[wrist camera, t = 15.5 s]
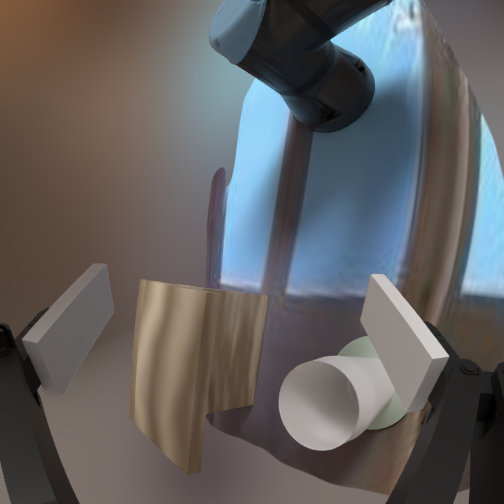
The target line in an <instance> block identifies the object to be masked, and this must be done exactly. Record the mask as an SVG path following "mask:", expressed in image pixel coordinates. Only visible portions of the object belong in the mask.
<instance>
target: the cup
mask: <svg viewBox="0 0 504 504" xmlns="http://www.w3.org/2000/svg"><path fill="white" fill-rule="evenodd" d="M394 391H395V389H394V387H393V384H392V382H391V380H390V378H389V376H388V374H387V372H386V370H385V368H384V366H383V364H382V362H381V360H380V359H377V358H365V357H347V356H326V357H322V358H319V359H316V360H312V361H309V362H305V363H302V364H300V365H298V366H297V367H295V368H294V369H292V370H291V371H290V372H289V374H288V375H287V376H286V378H285V379H284V381H283V383H282V386H281V389H280V393H279V411H280V416H281V419H282V422H283V424H284V426H285V428H286V430H287V431H288V432H289V434H290V435H291V436H292V437H293V438H294V439H295V440H296V441H297V442H298V443H300V444H301V445H303V446H305V447H307V448H310V449H313V450H319V451H325V450H331V449H334V448H337V447H339V446H340V445H342V444H344V443H346V442H348V441H350V440H353V439H354V438H356V437H358V436H359V435H360V434H361V433H363V432H364V431H365V430H366V429H367V427H368V426H369V425H370V424H371V423H372V422H373V421H374V419H375V418H376V417H377V416H378V415H379V413H380V412H381V411H382V410H383V409H384V407H385V406H386V405H387V404H388V402H389V401H390V400H391V398H392V396H393V394H394Z"/></svg>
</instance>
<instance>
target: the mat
mask: <svg viewBox="0 0 504 504" xmlns="http://www.w3.org/2000/svg"><path fill="white" fill-rule="evenodd" d="M337 356H347V357H365V358H377V359H380V358H379V356H378V354H377V352H376V350H375V348H374V346H373V344H372V343H371V341H370V339H369V337H368V336H364V337H360V338H358V339H355V340H353V341H352V342H350V343H349V344H347V345H346V346H345V347H344V348H343V349H342V350H341V351H340V352H339V353H338V355H337ZM405 414H406V412H405V410H404V408H403V405H402V403H401V401H400V399H399V397H398V395H397V393H396V391H394V394H393V396H392V398H391V400H390V401H389V402H388V404H387V405H386V406H385V407H384V409H383V410H382V411H381V412H380V413H379V415H378V416H377V417H376V418H375V419H374V421H373V422H372V423H371V424H370V425H369V426H368V427H367V429H370V430H375V429H382V428H385V427H388V426H390V425H392V424H394V423H396V422H397V421H399V420H400V419H401V418H402V417H403V416H404V415H405Z"/></svg>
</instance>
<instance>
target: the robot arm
mask: <svg viewBox="0 0 504 504" xmlns="http://www.w3.org/2000/svg"><path fill="white" fill-rule="evenodd" d="M392 1H393V0H225V1H224V2H223V3H222V5H221V6H220V8H219V10H218V11H217V13H216V15H215V17H214V20H213V22H212V24H211V27H210V31H209V41H210V44H211V46H212V48H213V49H214V50H215V51H217V52H218V53H219V54H221V55H222V56H224V57H226V58H227V59H228V60H229V61H230V63H232V64H234V65H237V66H238V67H240V68H241V69H243V70H245V71H246V72H248V73H249V74H251V75H252V76H254V77H255V78H257V79H258V80H260V81H261V82H263V83H264V84H266V85H267V86H269V87H270V88H272V89H273V90H275V91H276V92H277V93H279V94H280V95H281V96H282V98H283V99H284V101H285V102H286V104H287V106H288V107H289V109H290V110H291V112H292V114H293V115H294V117H295V118H296V119H297V120H298V121H299V122H300V123H302V124H303V125H304V126H306V127H307V128H308V129H310V130H312V131H315V132H322V133H325V132H332V131H336V130H339V129H342V128H344V127H346V126H348V125H349V124H351V123H352V122H354V121H355V120H356V119H357V118H358V117H359V116H360V115H361V114H362V113H363V112H364V111H365V110H366V108H367V107H368V105H369V103H370V101H371V99H372V97H373V93H374V87H375V82H374V77H373V74H372V72H371V70H370V69H369V68H368V66H367V65H366V64H365V63H364V62H363V61H362V60H361V59H360V58H359V57H358V56H356V55H354V54H352V53H350V52H349V51H347V50H345V49H343V48H341V47H339V46H337V45H335V44H333V43H332V42H331V41H330V40H331V39H332V38H333V37H335V36H336V35H338V34H340V33H341V32H343V31H344V30H346V29H347V28H349V27H351V26H352V25H354V24H355V23H357V22H359V21H360V20H362V19H364V18H365V17H367V16H369V15H370V14H372V13H374V12H376V11H377V10H379V9H381V8H383V7H385V6H387V5H389V4H390V3H391V2H392ZM113 313H114V307H113V302H112V296H111V291H110V284H109V278H108V271H107V265H106V264H93V265H91V266H90V267H89V268H88V269H87V270H86V271H85V273H83V274H82V275H81V276H80V277H79V278H78V279H77V280H76V281H75V282H74V283H73V284H72V285H71V287H69V289H67V291H66V292H65V293H64V294H63V295H62V296H61V297H60V298H59V299H58V300H57V301H56V302H55V303H54V304H53V305H52V306H51V307H50V308H46V309H45V310H43V311H41V312H40V313H38V314H37V316H36V317H35V318H34V319H33V321H31V322H30V323H29V324H28V326H26V327H25V329H24V330H23V331H22V332H21V333H20V334H19V335H18V336H17V337H16V339H15V340H14V338H13V335H12V333H11V330H10V327H9V326H8V325H7V324H3V323H0V462H1V466H2V471H3V475H4V479H5V483H6V487H7V491H8V494H9V498H10V501H11V504H79V502H78V500H77V497H76V495H75V493H74V491H73V489H72V487H71V484H70V482H69V480H68V478H67V475H66V473H65V470H64V468H63V465H62V463H61V460H60V458H59V455H58V452H57V450H56V447H55V444H54V441H53V438H52V435H51V432H50V429H49V426H48V423H47V419H46V416H45V413H44V409H43V406H42V402H41V398H40V396H39V393H38V391H37V389H38V388H39V386H40V385H42V387H43V389H44V391H45V393H46V395H50V396H54V397H57V398H62V396H63V394H64V393H65V391H66V389H67V387H68V386H69V384H70V382H71V380H72V379H73V377H74V375H75V374H76V372H77V370H78V368H79V367H80V365H81V364H82V362H83V360H84V359H85V357H86V355H87V354H88V352H89V350H90V349H91V347H92V345H93V344H94V342H95V341H96V339H97V338H98V336H99V334H100V333H101V331H102V330H103V328H104V326H105V325H106V323H107V322H108V320H109V319H110V317H111V316H112V314H113ZM360 321H361V323H362V325H363V327H364V329H365V331H366V333H367V335H368V337H369V339H370V341H371V343H372V344H373V346H374V348H375V350H376V352H377V354H378V356H379V358H380V360H381V362H382V364H383V366H384V368H385V370H386V372H387V374H388V376H389V378H390V380H391V382H392V384H393V387H394V389H395V391H396V393H397V395H398V397H399V399H400V401H401V403H402V405H403V408H404V410H405V412H406V413H408V412H413V411H418V410H422V409H423V407H424V405H425V404H426V402H427V400H429V402H430V404H431V405H432V406H431V408H430V410H429V411H428V413H427V415H426V416H425V418H424V420H423V421H422V423H421V424H422V425H423V427H422V429H421V432H420V434H419V437H418V439H417V441H416V444H415V446H414V448H413V451H412V453H411V455H410V457H409V459H408V461H407V464H406V466H405V468H404V470H403V472H402V474H401V476H400V478H399V480H398V482H397V484H396V486H395V488H394V489H393V491H392V493H391V495H390V497H389V499H388V501H387V502H386V504H453V502H454V500H455V497H456V494H457V491H458V488H459V485H460V482H461V478H462V475H463V472H464V468H465V465H466V461H467V457H468V453H469V449H470V493H469V504H504V362H501V363H499V364H498V365H497V367H496V369H495V371H494V372H484V371H482V370H481V368H480V367H479V366H478V365H477V364H476V363H475V362H473V361H471V360H467V359H460V358H459V356H458V355H457V354H456V352H455V351H454V350H453V348H452V347H451V346H450V345H449V343H448V342H446V339H445V338H444V337H443V336H441V335H442V334H441V333H440V332H439V331H438V329H437V328H436V327H435V326H433V325H432V324H430V323H429V322H428V321H424V322H423V321H422V320H421V318H420V317H419V316H418V315H417V313H416V312H415V311H414V310H413V308H412V307H411V306H410V305H409V304H408V302H407V301H406V300H405V299H404V297H403V296H402V295H401V294H400V293H399V291H398V290H397V289H396V288H395V287H394V285H393V284H392V283H391V282H390V281H389V279H388V278H387V277H386V276H385V275H384V274H371V275H370V280H369V284H368V289H367V293H366V298H365V302H364V306H363V311H362V315H361V319H360Z"/></svg>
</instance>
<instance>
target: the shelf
mask: <svg viewBox="0 0 504 504" xmlns="http://www.w3.org/2000/svg"><path fill="white" fill-rule="evenodd" d="M268 297H269V296H266V295H258V294H249V293H241V292H233V291H225V290H217V289H209V288H201V287H194V286H186V285H179V284H171V283H165V282H158V281H151V280H145V279H141V281H140V289H139V297H138V305H137V314H136V323H135V333H134V345H133V356H132V357H133V358H132V371H131V389H130V419H131V420H132V421H133V422H134V423H135V424H136V425H137V426H138V427H139V429H140V430H141V431H142V432H143V433H144V434H145V435H146V436H147V437H148V438H149V439H150V440H151V441H152V442H153V443H154V444H155V445H156V446H157V447H158V448H159V449H160V450H161V451H162V452H163V453H164V454H165V455H166V456H167V457H168V458H169V459H170V460H172V461H173V462H174V463H175V464H176V465H177V466H178V467H179V468H180V469H181V470H183V471H184V472H185V473H186V474H187V475H189V474H193V473H197V472H200V468H201V458H202V448H203V438H204V429H205V419H206V414H209V413H214V412H220V411H225V410H231V409H236V408H240V407H245V406H250V405H253V402H254V395H255V389H256V382H257V375H258V368H259V362H260V355H261V348H262V341H263V334H264V327H265V319H266V312H267V305H268Z"/></svg>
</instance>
